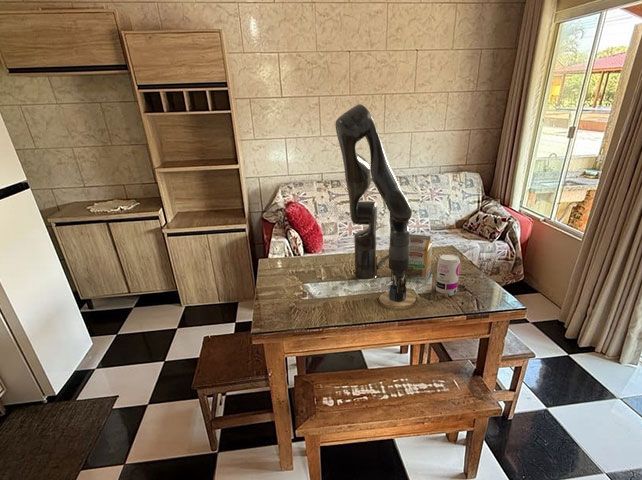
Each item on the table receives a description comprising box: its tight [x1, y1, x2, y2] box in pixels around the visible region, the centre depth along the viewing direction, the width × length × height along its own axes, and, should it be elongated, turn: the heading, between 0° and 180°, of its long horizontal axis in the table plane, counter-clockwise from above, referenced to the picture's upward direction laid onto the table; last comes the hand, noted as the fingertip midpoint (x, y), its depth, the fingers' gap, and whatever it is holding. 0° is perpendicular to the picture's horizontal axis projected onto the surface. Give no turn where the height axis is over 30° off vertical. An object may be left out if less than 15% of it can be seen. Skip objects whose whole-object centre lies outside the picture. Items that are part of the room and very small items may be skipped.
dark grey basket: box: [388, 283, 413, 302], centre depth 157 cm, size 8×6×5 cm
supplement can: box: [435, 253, 461, 297], centre depth 160 cm, size 8×8×15 cm
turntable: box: [378, 291, 416, 307], centre depth 158 cm, size 14×14×2 cm
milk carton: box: [403, 233, 433, 281], centre depth 175 cm, size 11×11×19 cm
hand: (397, 297), depth 157 cm, fingers closed on dark grey basket, 6 cm apart
